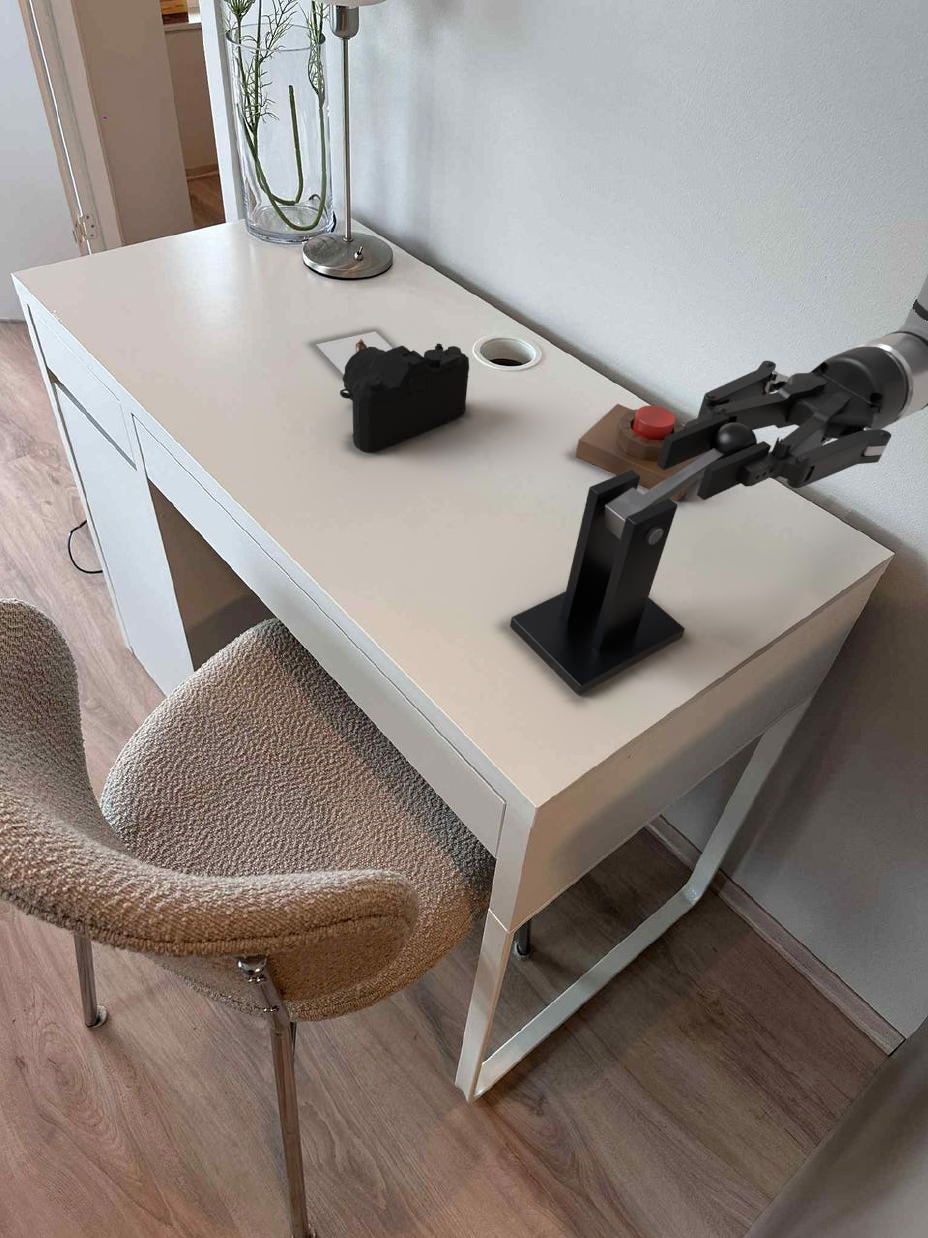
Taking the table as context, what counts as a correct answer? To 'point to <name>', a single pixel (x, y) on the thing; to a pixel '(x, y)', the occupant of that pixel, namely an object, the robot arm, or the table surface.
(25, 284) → the table surface
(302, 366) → the table surface
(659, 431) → the button
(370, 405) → the film camera
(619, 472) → the brown button base
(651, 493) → the switch lever
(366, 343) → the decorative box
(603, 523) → the black lever stand
